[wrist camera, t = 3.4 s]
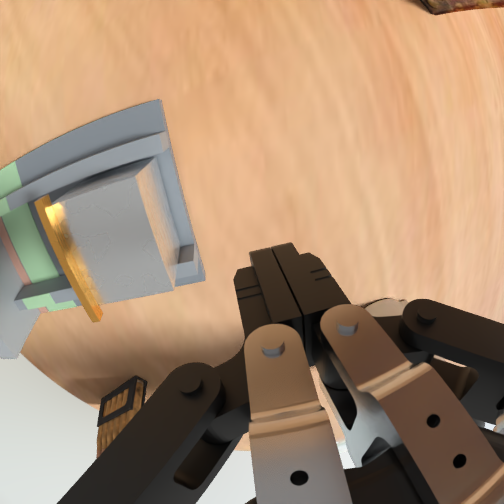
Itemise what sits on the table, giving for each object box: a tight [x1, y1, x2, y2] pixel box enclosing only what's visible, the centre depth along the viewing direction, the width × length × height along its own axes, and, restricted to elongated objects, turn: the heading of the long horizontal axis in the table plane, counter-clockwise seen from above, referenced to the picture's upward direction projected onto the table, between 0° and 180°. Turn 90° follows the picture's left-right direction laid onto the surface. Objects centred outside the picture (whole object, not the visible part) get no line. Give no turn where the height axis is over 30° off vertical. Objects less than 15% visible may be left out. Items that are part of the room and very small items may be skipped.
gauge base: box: [0, 99, 205, 359], centre depth 17 cm, size 22×15×8 cm
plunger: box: [34, 157, 181, 322], centre depth 16 cm, size 6×8×7 cm
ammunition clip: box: [97, 376, 147, 458], centre depth 27 cm, size 11×2×12 cm, turn 130°
